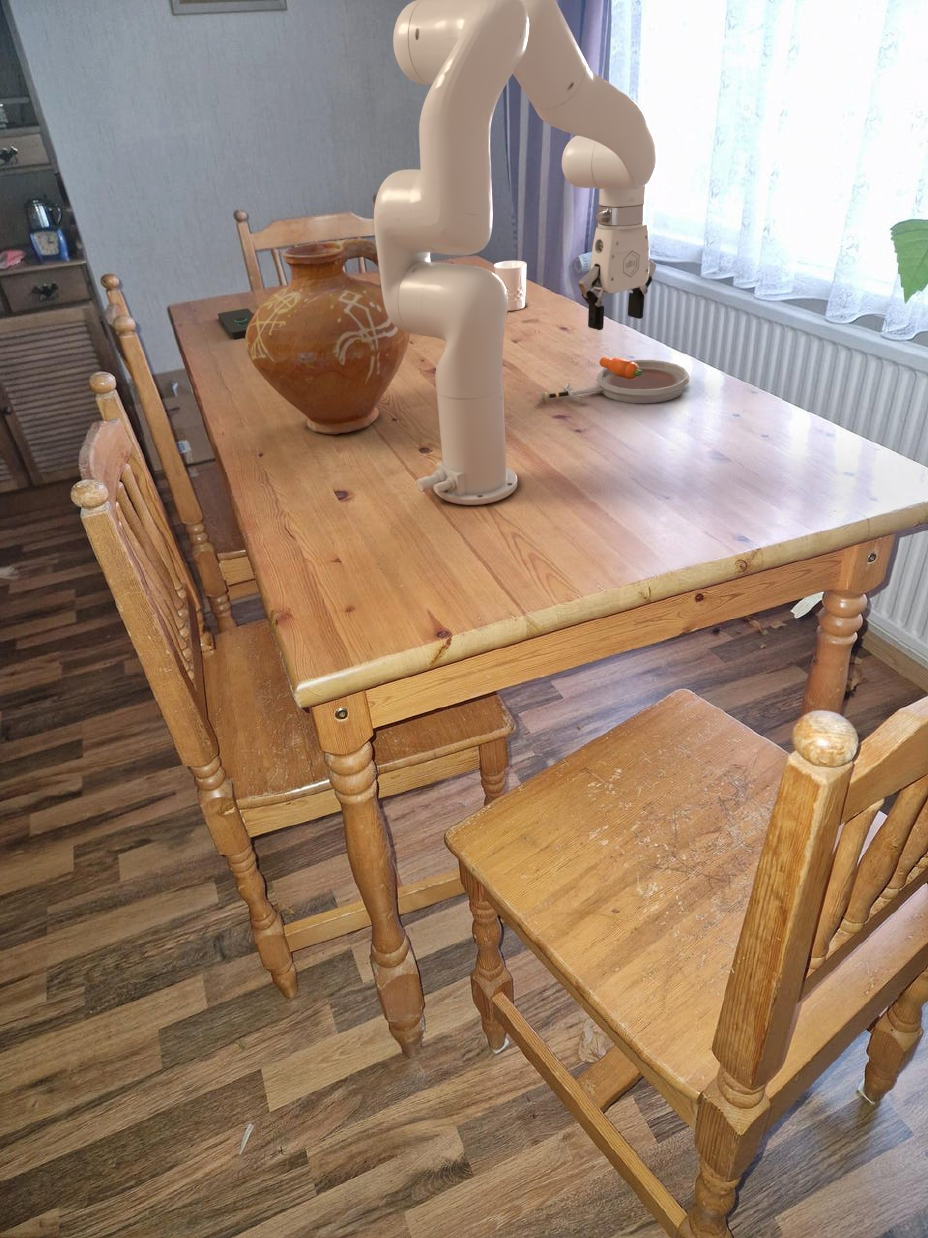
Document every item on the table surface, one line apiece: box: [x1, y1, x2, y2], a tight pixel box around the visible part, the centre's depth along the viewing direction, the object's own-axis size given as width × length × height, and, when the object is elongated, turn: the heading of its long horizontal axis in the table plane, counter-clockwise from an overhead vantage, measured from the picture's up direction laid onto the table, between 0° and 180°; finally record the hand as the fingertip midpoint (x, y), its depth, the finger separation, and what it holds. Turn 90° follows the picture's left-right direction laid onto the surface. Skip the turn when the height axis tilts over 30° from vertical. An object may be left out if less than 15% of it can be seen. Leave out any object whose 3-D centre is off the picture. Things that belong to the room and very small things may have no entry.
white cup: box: [493, 260, 527, 312], centre depth 198 cm, size 8×8×10 cm
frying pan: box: [541, 359, 691, 404], centre depth 150 cm, size 17×3×28 cm
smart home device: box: [217, 308, 254, 340], centre depth 203 cm, size 8×2×20 cm
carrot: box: [598, 356, 642, 379], centre depth 149 cm, size 10×3×3 cm
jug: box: [244, 238, 411, 435], centre depth 139 cm, size 28×28×30 cm
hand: (615, 322), depth 143 cm, fingers open, 9 cm apart
